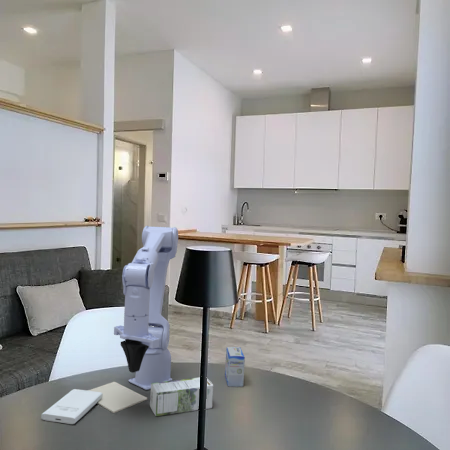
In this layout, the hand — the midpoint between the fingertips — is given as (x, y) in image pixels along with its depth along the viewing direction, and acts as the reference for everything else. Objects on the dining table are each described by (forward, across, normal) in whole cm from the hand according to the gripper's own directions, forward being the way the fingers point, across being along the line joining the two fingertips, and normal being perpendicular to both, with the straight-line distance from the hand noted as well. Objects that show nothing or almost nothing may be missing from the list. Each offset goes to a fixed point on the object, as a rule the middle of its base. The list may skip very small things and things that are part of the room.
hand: (134, 371), depth 97 cm
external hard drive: (+9, -10, -10) cm, 17 cm away
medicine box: (+10, +6, +31) cm, 33 cm away
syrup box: (+7, +4, +3) cm, 8 cm away
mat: (+9, -9, +1) cm, 13 cm away
